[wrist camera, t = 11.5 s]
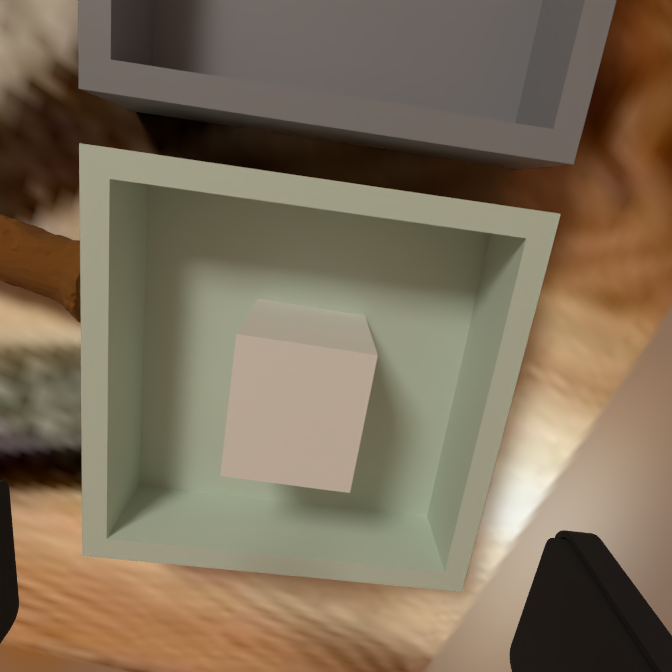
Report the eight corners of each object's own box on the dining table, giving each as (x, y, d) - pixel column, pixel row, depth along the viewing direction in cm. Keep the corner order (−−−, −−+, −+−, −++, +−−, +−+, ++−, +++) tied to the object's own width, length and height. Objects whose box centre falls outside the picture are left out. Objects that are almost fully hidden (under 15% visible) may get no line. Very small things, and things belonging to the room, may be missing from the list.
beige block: (257, 298, 20) (236, 333, 15) (365, 315, 20) (377, 355, 15) (243, 411, 21) (220, 476, 16) (344, 425, 22) (350, 493, 17)
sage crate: (134, 153, 19) (79, 143, 15) (509, 208, 20) (560, 213, 16) (127, 487, 23) (82, 555, 19) (437, 520, 24) (461, 592, 20)
